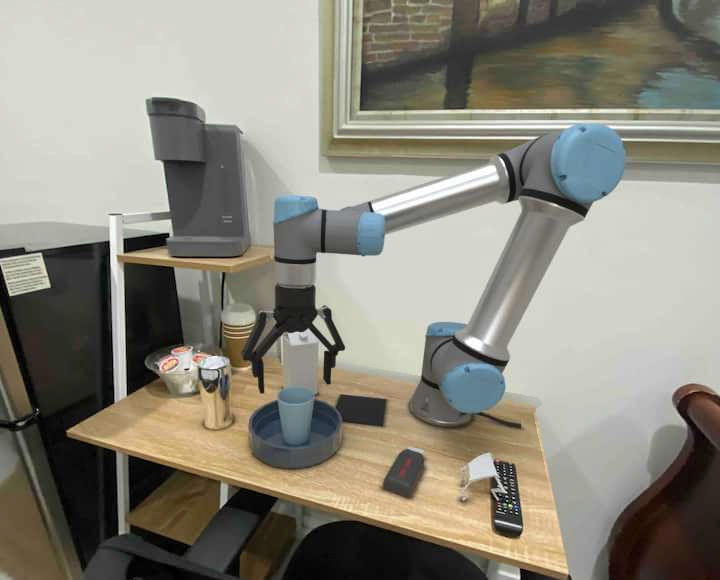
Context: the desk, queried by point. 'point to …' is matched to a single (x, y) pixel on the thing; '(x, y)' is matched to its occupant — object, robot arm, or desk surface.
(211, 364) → the silver metal cylinder
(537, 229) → the robot arm
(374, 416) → the coaster
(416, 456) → the usb drive
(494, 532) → the desk surface
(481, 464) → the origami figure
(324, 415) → the bowl
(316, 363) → the milk carton
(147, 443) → the desk surface
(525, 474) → the desk surface
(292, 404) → the cup
